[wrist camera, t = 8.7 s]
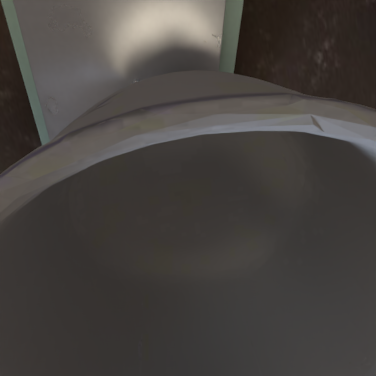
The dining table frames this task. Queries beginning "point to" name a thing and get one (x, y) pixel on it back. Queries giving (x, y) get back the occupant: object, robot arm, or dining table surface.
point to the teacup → (194, 236)
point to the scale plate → (112, 47)
